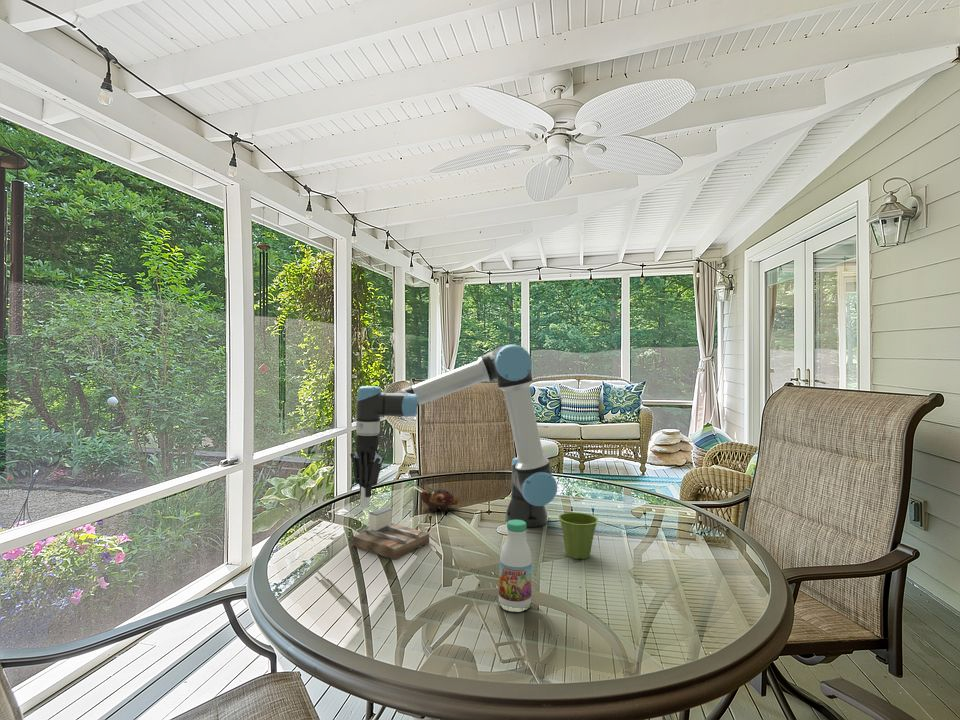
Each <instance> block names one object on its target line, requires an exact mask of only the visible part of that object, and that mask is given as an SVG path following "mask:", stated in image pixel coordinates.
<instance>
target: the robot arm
mask: <svg viewBox="0 0 960 720" xmlns="http://www.w3.org/2000/svg"><path fill="white" fill-rule="evenodd" d="M477 358H478V359H477V360H476V361H473V362H471V363H468V364H465V365H462V366H459V367H457V368H454V369H452V370H450V371H449V370H448V371H446V372H444V373H441V374H438V375H437V376H434V377H431V378H428V379H426V380H424V381H420V382H419V383H416V384H413V385H411V386H407V387H405V388H403V389H402V388H401V389H398V390H396V391H395V392H382V387H381V386H379V385H378V386H377V385H361V386H360V387H358V389H357V397H356V398H357V399H356V419H355V420H356V425H355V427H356V428H355V432H356V433H357V434H355V446H356V449H355V451H354V452H351V453H350V457H351V460H352V461H351V462H352V467H353V476H354V482H355V484H357V485H358V486H359V496H360V504H359V505H360V506H359V507H360V508H363V509H364V508H368V507H371V506H370V505H371V496H372V489H373V487H376V486H377V485H378V480H379V476H380V473H381V472H380V471H381V466H382V464H383V462H384V460H385V459H384V457H382V456H380V455H379V450H378V447H379V445H380V435H379V434H380V432H381V417H382V416H383V417H386V416H387V417H405V418H408V417H416V416H417V415H418V407H419V406H421V405H424V404H427V403H429V402H432V401H435V400H437V399H440V398H444V397H445V396H448V395H451V394H453V393H455V392H459V391H462V390H463V389H467V388H469V387H471V386H474V385H477V384H478V383H482V382H484V381H486V382H487V383H490V382H492V381H495V380H496V382H497V387H498V389H499V390H501V391H503V393H504V398H505V399H504V400H505V401H506V402H505V403H506V408H507V412H508V413H507V414H508V417H509V421H510V426H511V431H512V432H511V433H512V437H513V442H514V446H515V450H516V455H517V456H516V457H514V458H512V462H511V464H510V465H511V486H510V487H511V489H510V490H511V491H510V492H511V494H510V499H509V503H508V505H507V509H506V511H505V512H506V513H505V521H506V523H508V521H510V520H522V521H525V522H526V528H537V527H542V526H545V525H546V524H547V523H548V512H547V508H546V505H549V504H550V503H551V502H553V500H554V499H555V497H556V495H557V492H558V484H557V481H556V478H555V477H554V476H553V474H552V468H551V463H550V460H549V459H548V458H547V457H546V456H545V455H544V452H543V449H542V442H541V438H540V433H539V429H538V422H537V418H536V414H535V409H534V404H533V399H532V394H531V389H530V387H531V384H532V383H533V376H532V372H531V369H532V363H533V362H532V358H531V355H530V352H528V351H527V350H526V348H524V347H523V346H521V345H518V344H514V343H511V344H504V345H500V346H498V347H497V348H495V349H493V350H492V351H490V352H487V353H486V354H483V355H481V356H479V357H477Z"/></svg>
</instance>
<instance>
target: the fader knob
mask: <svg viewBox="0 0 960 720" xmlns="http://www.w3.org/2000/svg"><path fill="white" fill-rule="evenodd" d="M392 513H393V508H390V507H385V506H384V507H381V508H379V509H375V510H373V511H370V512H368V515H369V516H368V529H371V530H375V531H378V532H382V533H383V532H385V531H388V526H389V525H391V523H392V516H393V514H392Z"/></svg>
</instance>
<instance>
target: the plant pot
mask: <svg viewBox="0 0 960 720" xmlns="http://www.w3.org/2000/svg"><path fill="white" fill-rule="evenodd" d="M558 519H559V520H560V526H561V529H562V534H563V535H562V537H563V543H564V544H563V545H564V552H565V555H566V556H567V557H569V558H571V559H574V560H579V559H582V560H587V559H588V558H589V557H590V556H591V551H592V546H593V542H594V541H593V540H594V534H595V530H596V527H597V524H598V522H599V518H598V517H597V516H595V515H592V514H589V513H584V512H575V511H574V512H573V511H572V512H564V513H561V514H560V515H558Z"/></svg>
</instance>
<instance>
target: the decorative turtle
mask: <svg viewBox="0 0 960 720" xmlns="http://www.w3.org/2000/svg"><path fill="white" fill-rule="evenodd" d="M420 499H421V501H422V502H423V503H424V504H425V505H427V507H428V508H429V509H430V510H431V512H433V513H435V512H437V510H439V509H440V510H441V511H443V512H447V510H448V508H449V506H455V505H458V503H459V501H460V499H459V498H458V497H456V496H454V494H453V493H452V492H451V491H449V490H447V489H443V488H439V489H438V488H437V489H434V490H431V491H430V490H426V489H425V490H422V491H421V492H420Z"/></svg>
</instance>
